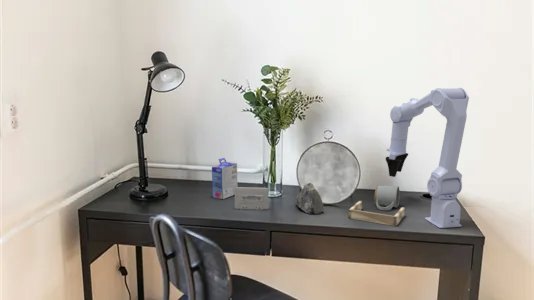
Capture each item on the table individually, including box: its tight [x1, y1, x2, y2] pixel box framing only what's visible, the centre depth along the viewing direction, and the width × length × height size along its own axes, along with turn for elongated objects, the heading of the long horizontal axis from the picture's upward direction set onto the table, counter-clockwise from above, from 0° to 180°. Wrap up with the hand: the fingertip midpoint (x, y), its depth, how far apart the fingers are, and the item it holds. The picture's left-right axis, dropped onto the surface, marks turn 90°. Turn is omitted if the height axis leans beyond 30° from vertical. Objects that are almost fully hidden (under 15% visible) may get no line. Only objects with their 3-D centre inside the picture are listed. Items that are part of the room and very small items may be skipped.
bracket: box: [347, 200, 405, 227], centre depth 169 cm, size 12×16×3 cm
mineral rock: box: [294, 182, 325, 215], centre depth 177 cm, size 13×11×10 cm
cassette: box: [234, 186, 270, 210], centre depth 177 cm, size 12×2×8 cm, turn 89°
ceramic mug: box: [374, 185, 401, 212], centre depth 181 cm, size 11×8×8 cm
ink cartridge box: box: [211, 157, 239, 200], centre depth 192 cm, size 10×6×14 cm, turn 148°
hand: (395, 173), depth 188 cm, fingers open, 7 cm apart
